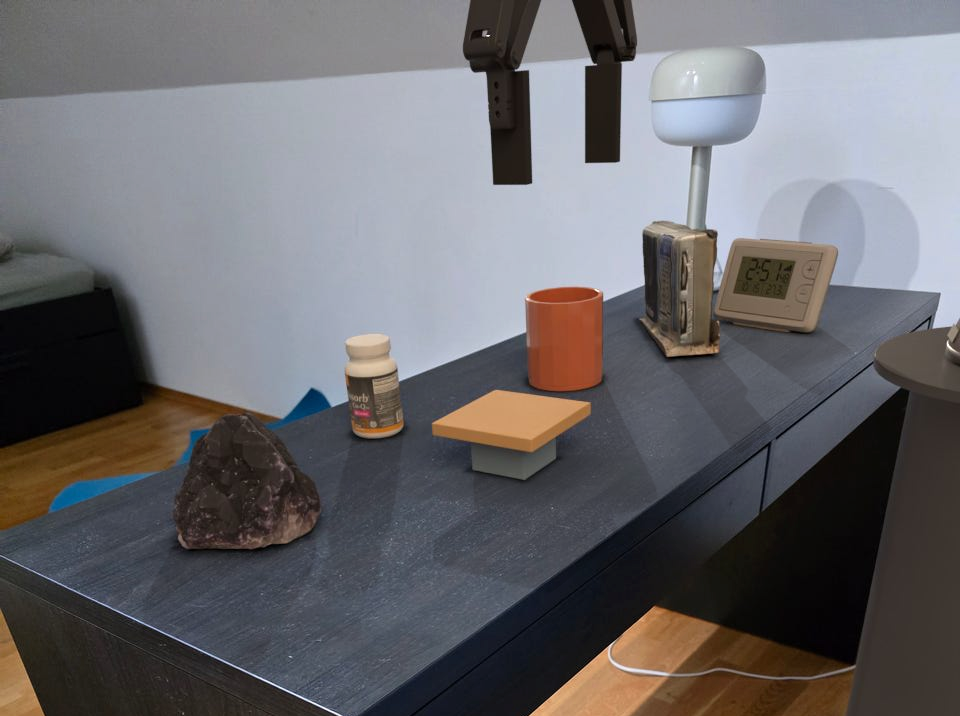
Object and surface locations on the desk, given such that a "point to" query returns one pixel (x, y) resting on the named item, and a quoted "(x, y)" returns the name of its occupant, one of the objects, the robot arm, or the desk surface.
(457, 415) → the mat
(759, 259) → the digital clock
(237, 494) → the crystal cluster
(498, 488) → the desk surface
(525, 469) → the stand
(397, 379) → the pill bottle
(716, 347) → the radio
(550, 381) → the cup
